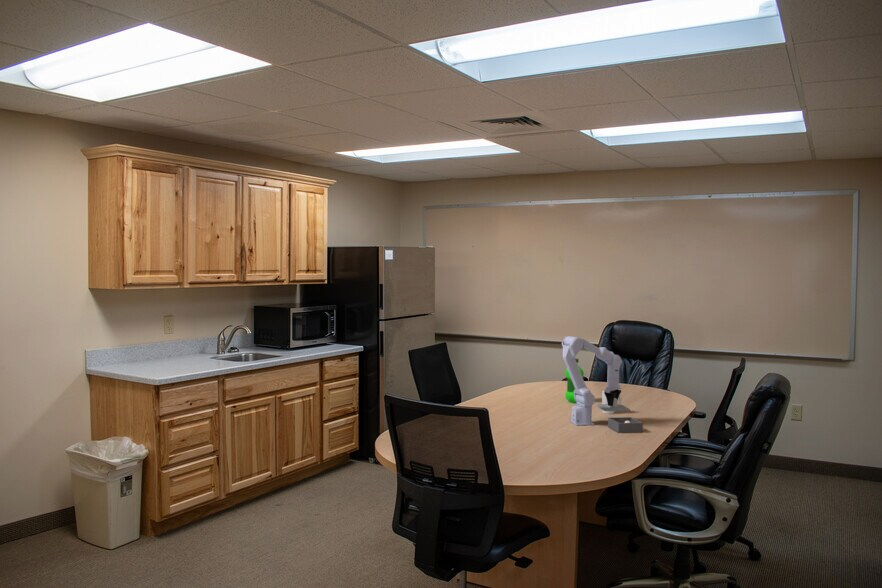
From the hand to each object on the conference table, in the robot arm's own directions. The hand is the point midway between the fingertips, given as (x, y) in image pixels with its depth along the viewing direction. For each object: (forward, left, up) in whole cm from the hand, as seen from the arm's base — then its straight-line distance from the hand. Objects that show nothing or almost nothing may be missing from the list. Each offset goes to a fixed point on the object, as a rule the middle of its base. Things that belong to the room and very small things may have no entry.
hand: (612, 405), depth 327 cm
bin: (-1, -17, -8) cm, 19 cm away
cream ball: (+1, -15, -6) cm, 16 cm away
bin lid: (0, 0, -2) cm, 2 cm away
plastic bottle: (-2, +48, -8) cm, 49 cm away
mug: (+8, +19, -8) cm, 22 cm away
